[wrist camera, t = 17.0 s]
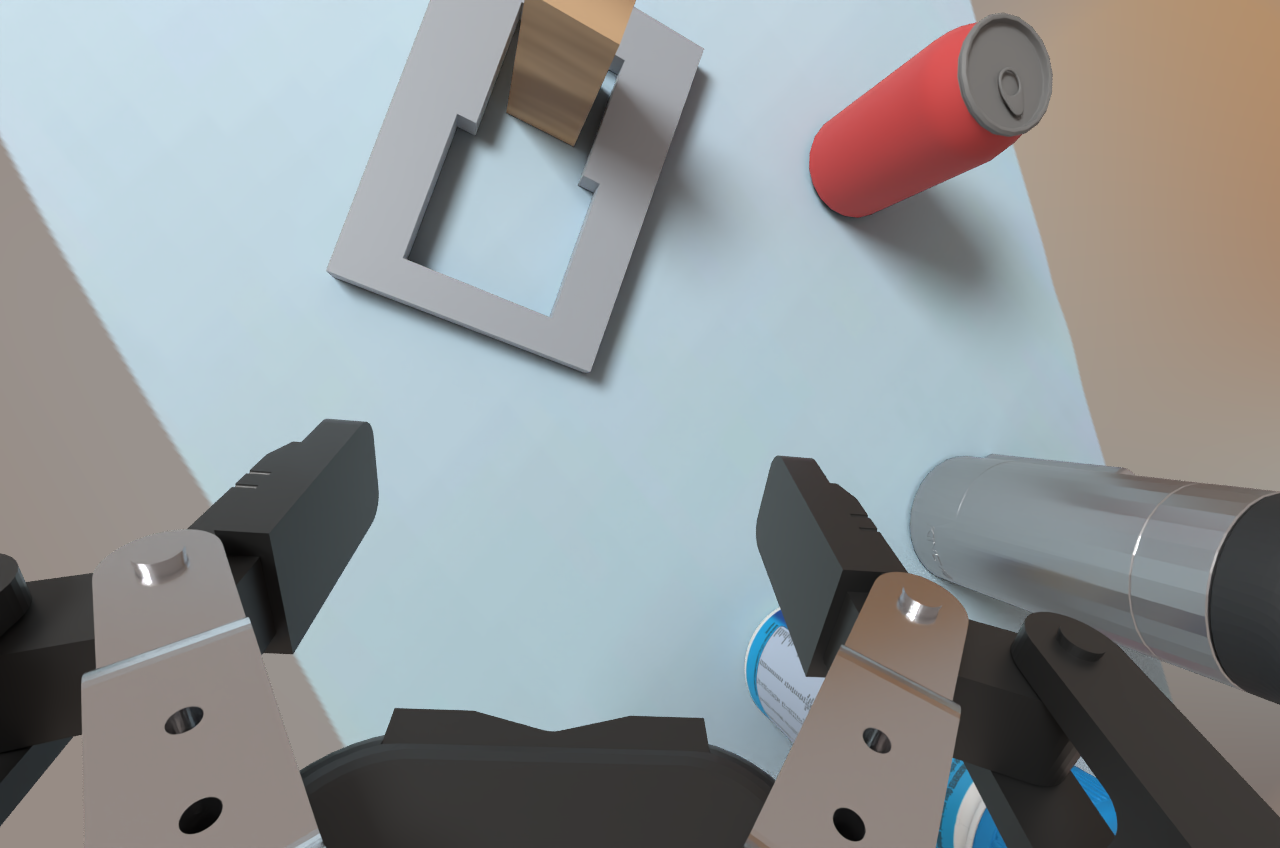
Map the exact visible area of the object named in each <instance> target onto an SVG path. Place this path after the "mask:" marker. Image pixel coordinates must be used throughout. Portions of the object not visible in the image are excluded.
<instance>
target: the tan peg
mask: <svg viewBox="0 0 1280 848" xmlns="http://www.w3.org/2000/svg"><path fill="white" fill-rule="evenodd" d="M635 1H636V0H524V6H523V12H522V18H521V25H520V31H519V37H518V43H517V49H516V55H515V61H514V68H513V74H512V80H511V86H510V92H509V98H508V105H507V111H506V113H508V114H510V115H512V116H514V117H516V118H518V119H520V120H522V121H524V122H526V123H528V124H530V125H532V126H534V127H536V128H538V129H540V130H542V131H544V132H546V133H548V134H550V135H552V136H554V137H555V138H557V139H559V140H561V141H563V142H565V143H567V144H569V145H571V146H573V147H574V145H575V143H576V140H577V138H578V136H579V134H580V132H581V129H582V127H583V125H584V123H585V120H586V118H587V116H588V114H589V112H590V109H591V107H592V105H593V103H594V101H595V98H596V96H597V94H598V92H599V89H600V87H601V85H602V83H603V81H604V78H605V76H606V74H607V72H608V70H609V67H610V65H611V63H612V61H613V58H614V56H615V54H616V52H617V50H618V47H619V45H620V43H621V40H622V37H623V34H624V32H625V29H626V26H627V23H628V21H629V18H630V15H631V12H632V10H633V7H634V4H635Z"/></svg>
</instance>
